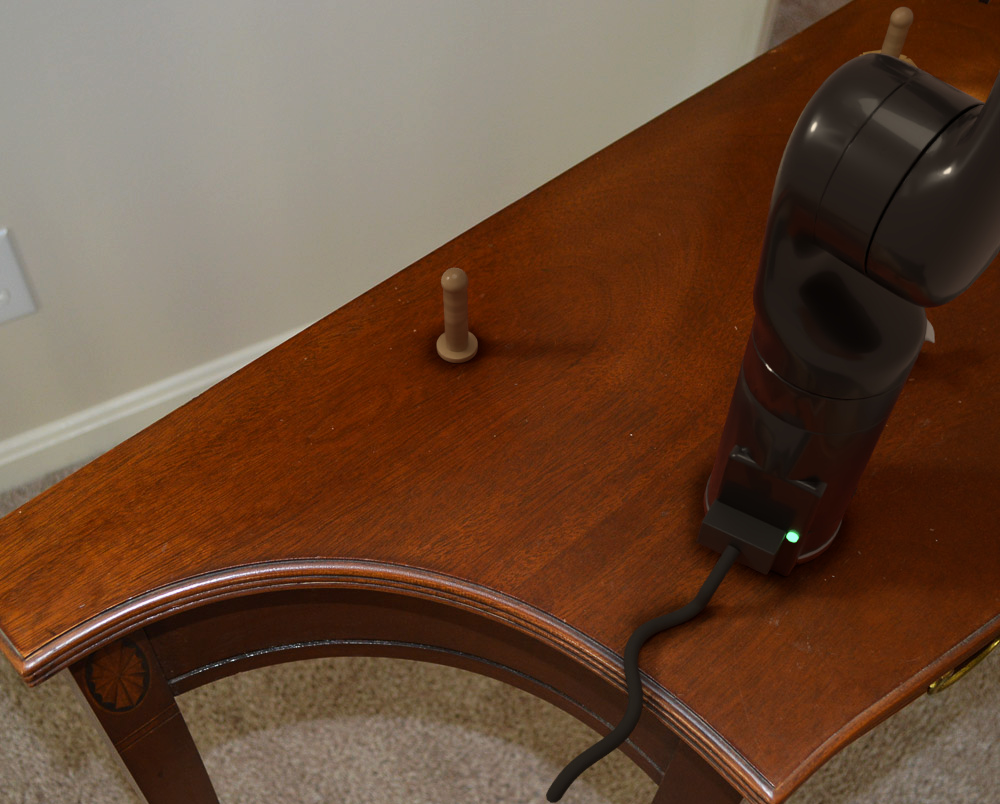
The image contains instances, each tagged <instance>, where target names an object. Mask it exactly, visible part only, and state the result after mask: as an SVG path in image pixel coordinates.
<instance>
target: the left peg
mask: <svg viewBox="0 0 1000 804" xmlns="http://www.w3.org/2000/svg"><path fill="white" fill-rule="evenodd" d="M469 282H470V281H469V277H468V274H467V273H466V271H464V270H463V269H461V268H459V267H450V268H448V269H446V271H444V273H443V274H442V275H441V279H440V284H441V285H440V286H441V288H442V300H443V319H444V332H443V333H441V334H440V336H439V337H438V339H437V340H436V352H437V354H438V356H439V357H440V358H441V359H442V360H444V361H446V362H449V363H452V364H462V363H465V362H468V361H470V360H472V359H473V358H474V357H475V356H476V354H477V353H478V349H479V343H478V339H477V337H476V336H475V335H474V334H473V333H472V332H471V331H469V301H468V296H469V295H468V294H469V293H468V287H469Z"/></svg>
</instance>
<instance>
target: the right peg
mask: <svg viewBox="0 0 1000 804" xmlns="http://www.w3.org/2000/svg"><path fill="white" fill-rule="evenodd" d="M913 21H914V13H913V11H912V9H910V8H909V7H907V6H900V7H898V8H896V9H895V10H893V11H892V13H891V15H890V18H889V24H888V27H887V31H886V34H885V37H884V39H883V43H882V46H881V49H880V50H881V52H880V53H883V54H888V55H891V56H894V57H896V58H899V57H900V54H901V55H902V52H903V48H904V45H905V43H906V39H907V36H908V33H909V30H910V27H911V26H912V24H913Z"/></svg>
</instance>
